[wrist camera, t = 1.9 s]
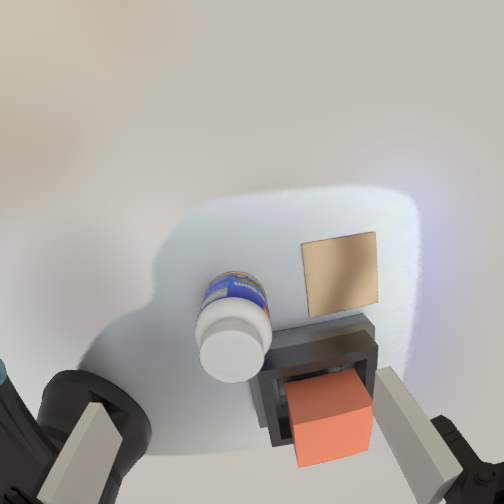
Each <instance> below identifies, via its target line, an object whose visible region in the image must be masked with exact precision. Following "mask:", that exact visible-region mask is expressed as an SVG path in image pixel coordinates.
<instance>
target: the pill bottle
mask: <svg viewBox="0 0 504 504" xmlns="http://www.w3.org/2000/svg"><path fill="white" fill-rule="evenodd" d="M195 340H196V344H197V346H198V348H199V350H200V351H199V359H200V363H201V365H202V367H203V368H204V370H205V371H206V372H207V373H208V374H209V375H210V376H212V377H213V378H215V379H217V380H219V381H222V382H227V383H238V382H243V381H246V380H248V379H250V378H252V377H254V376H255V375H256V374H257V373H258V372H259V371H260V369H261V368H262V366H263V363H264V355H265V354H266V353H267V351H268V349H269V347H270V345H271V342H272V326H271V321H270V316H269V311H268V306H267V301H266V296H265V292H264V290H263V288H262V286H261V284H260V283H259V282H258V281H257V280H256V279H255V278H254V277H252V276H250V275H248V274H246V273H242V272H229V273H225V274H223V275H221V276H219V277H217V278H216V279H215V280H213V282H212V283H211V284H210V285H209V287H208V289H207V291H206V293H205V296H204V300H203V303H202V306H201V309H200V312H199V315H198V318H197V322H196V326H195Z"/></svg>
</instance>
